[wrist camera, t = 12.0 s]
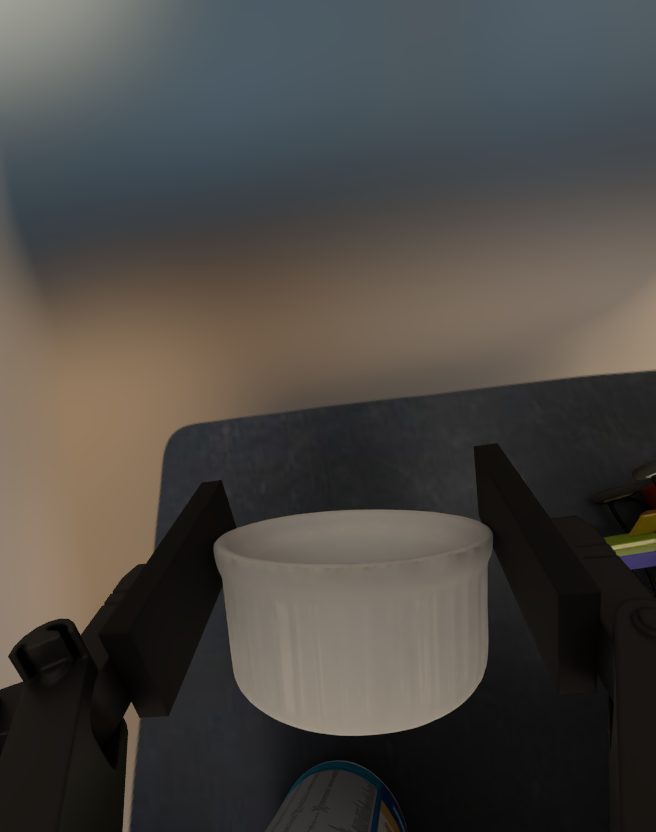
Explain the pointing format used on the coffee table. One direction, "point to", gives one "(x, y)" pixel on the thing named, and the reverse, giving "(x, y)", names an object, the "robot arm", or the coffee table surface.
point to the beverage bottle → (339, 802)
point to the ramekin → (357, 616)
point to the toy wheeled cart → (652, 533)
